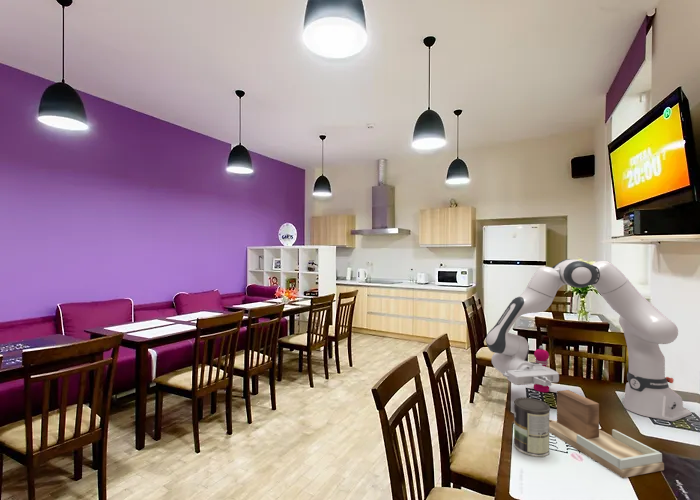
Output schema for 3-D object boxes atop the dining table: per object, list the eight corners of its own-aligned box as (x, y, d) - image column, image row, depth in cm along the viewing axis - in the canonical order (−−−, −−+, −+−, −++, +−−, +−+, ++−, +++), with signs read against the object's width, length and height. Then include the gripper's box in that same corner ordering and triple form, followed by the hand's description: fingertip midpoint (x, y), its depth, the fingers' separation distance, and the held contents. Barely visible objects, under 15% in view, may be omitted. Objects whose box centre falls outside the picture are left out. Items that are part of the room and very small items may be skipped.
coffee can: (509, 449, 114) (509, 404, 114) (518, 436, 122) (518, 394, 122) (546, 461, 107) (546, 414, 107) (552, 446, 115) (552, 402, 115)
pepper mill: (553, 393, 159) (552, 348, 159) (535, 392, 160) (535, 347, 160) (547, 387, 166) (547, 344, 166) (530, 386, 167) (530, 343, 167)
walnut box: (568, 420, 129) (568, 389, 129) (599, 437, 117) (598, 403, 117) (556, 422, 128) (556, 391, 128) (586, 439, 116) (586, 405, 116)
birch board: (577, 423, 131) (577, 417, 131) (664, 470, 103) (663, 463, 103) (542, 428, 128) (542, 422, 128) (622, 477, 99) (622, 470, 99)
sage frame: (614, 436, 118) (614, 429, 118) (662, 462, 104) (662, 453, 104) (576, 442, 114) (576, 434, 114) (621, 469, 100) (621, 460, 100)
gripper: (500, 365, 145) (524, 377, 132) (542, 362, 150) (570, 373, 137) (500, 380, 145) (524, 394, 132) (542, 377, 150) (570, 390, 137)
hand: (548, 383), depth 134 cm, fingers closed
